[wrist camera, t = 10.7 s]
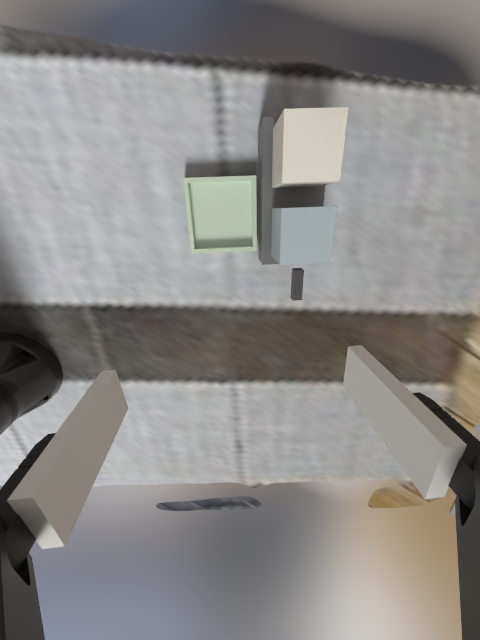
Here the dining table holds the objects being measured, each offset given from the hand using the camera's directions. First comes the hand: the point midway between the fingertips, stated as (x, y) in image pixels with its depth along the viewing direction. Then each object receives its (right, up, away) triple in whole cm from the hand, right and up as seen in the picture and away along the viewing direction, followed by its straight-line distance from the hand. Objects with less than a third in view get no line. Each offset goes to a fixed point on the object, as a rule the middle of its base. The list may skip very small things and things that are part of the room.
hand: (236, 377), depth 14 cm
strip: (+7, +19, +23) cm, 31 cm away
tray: (-2, +19, +23) cm, 30 cm away
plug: (+7, +25, +20) cm, 32 cm away
